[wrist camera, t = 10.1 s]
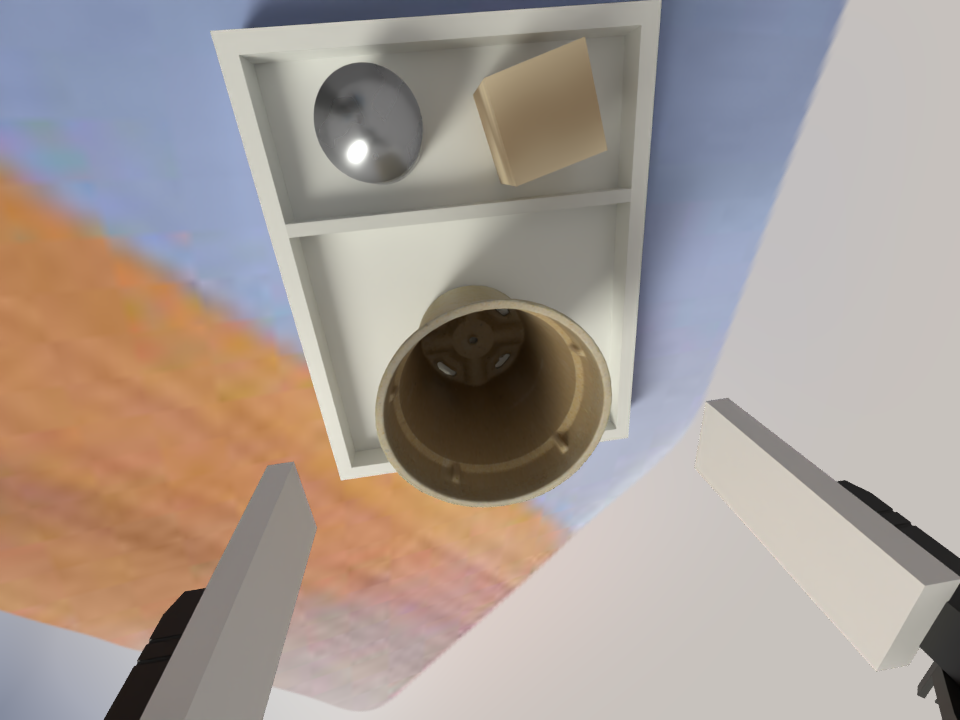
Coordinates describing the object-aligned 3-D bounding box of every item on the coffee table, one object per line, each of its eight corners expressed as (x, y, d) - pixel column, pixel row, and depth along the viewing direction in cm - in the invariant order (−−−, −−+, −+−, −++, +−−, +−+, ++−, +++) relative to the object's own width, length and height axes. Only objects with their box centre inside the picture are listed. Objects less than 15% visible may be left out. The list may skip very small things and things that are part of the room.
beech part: (472, 94, 19) (484, 77, 16) (554, 61, 19) (584, 36, 16) (500, 183, 21) (516, 186, 17) (575, 153, 21) (607, 150, 17)
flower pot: (577, 280, 24) (653, 335, 16) (522, 419, 27) (563, 521, 19) (412, 232, 21) (406, 269, 14) (376, 390, 25) (354, 491, 17)
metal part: (315, 123, 19) (289, 106, 15) (386, 67, 19) (378, 37, 15) (372, 201, 20) (361, 204, 17) (439, 152, 20) (443, 143, 16)
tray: (233, 46, 18) (210, 31, 16) (637, 16, 19) (661, -1, 17) (347, 457, 27) (341, 480, 25) (613, 419, 29) (628, 437, 27)
